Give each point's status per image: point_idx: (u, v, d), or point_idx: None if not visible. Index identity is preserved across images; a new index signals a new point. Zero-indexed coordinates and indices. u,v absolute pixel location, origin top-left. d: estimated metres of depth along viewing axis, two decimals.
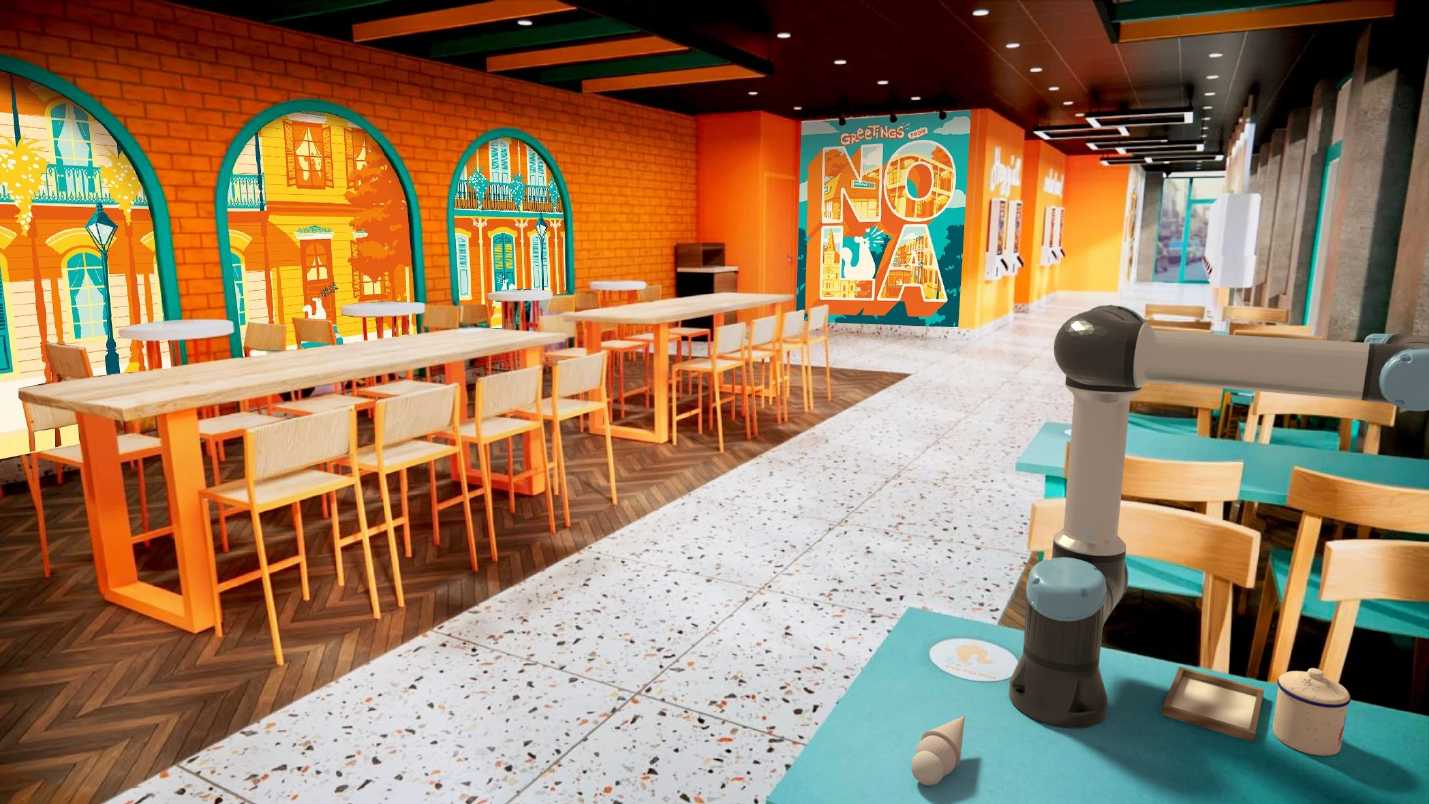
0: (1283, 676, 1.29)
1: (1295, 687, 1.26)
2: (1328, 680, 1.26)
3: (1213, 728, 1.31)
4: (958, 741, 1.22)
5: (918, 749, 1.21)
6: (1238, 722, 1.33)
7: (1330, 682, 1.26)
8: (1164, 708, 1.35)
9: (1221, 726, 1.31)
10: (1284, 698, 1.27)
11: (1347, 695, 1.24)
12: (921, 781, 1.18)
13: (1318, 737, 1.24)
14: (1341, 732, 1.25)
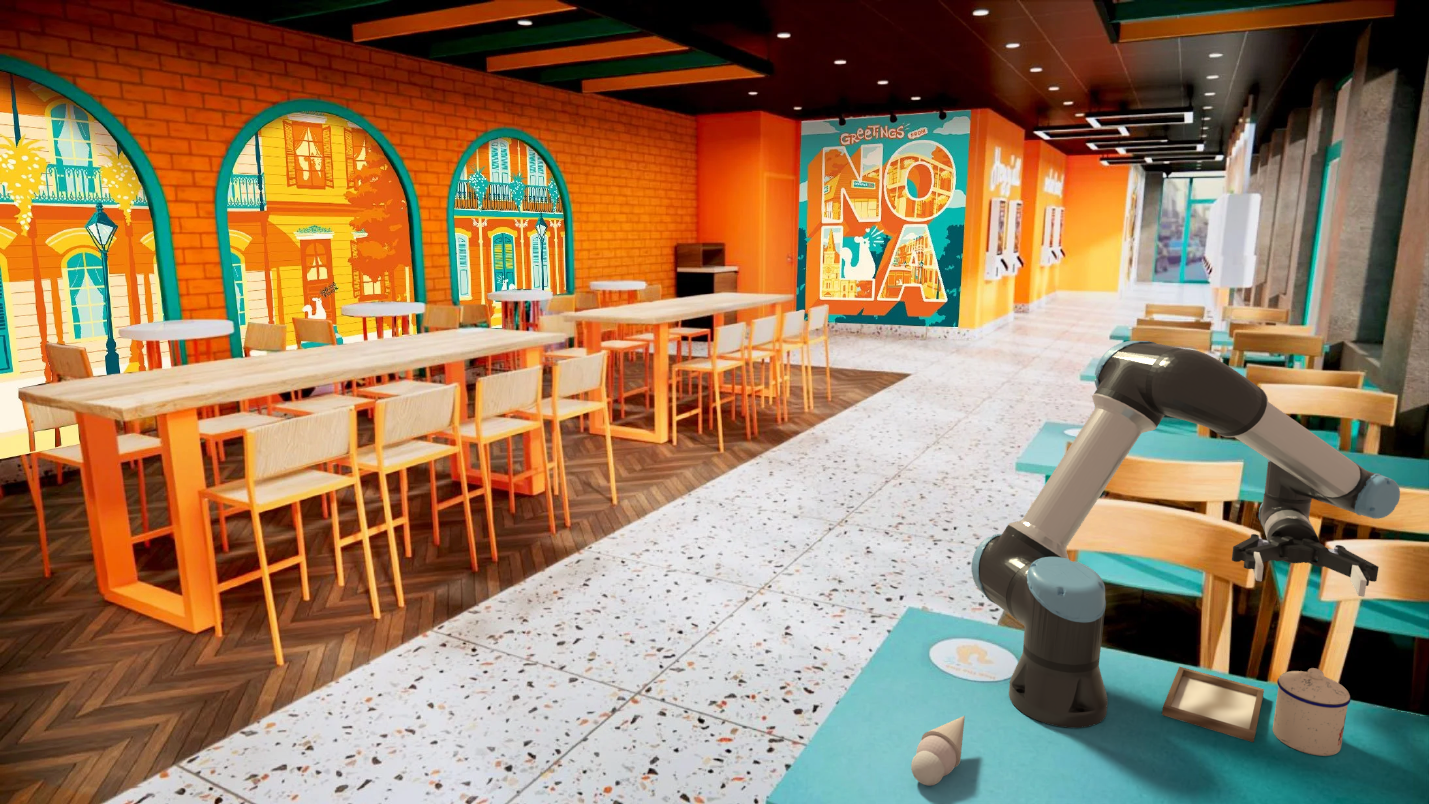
0: (1283, 676, 1.29)
1: (1295, 687, 1.26)
2: (1328, 680, 1.26)
3: (1213, 728, 1.31)
4: (958, 741, 1.22)
5: (918, 749, 1.21)
6: (1238, 722, 1.33)
7: (1330, 682, 1.26)
8: (1164, 708, 1.35)
9: (1221, 726, 1.31)
10: (1284, 698, 1.27)
11: (1347, 695, 1.24)
12: (921, 781, 1.18)
13: (1318, 737, 1.24)
14: (1341, 732, 1.25)
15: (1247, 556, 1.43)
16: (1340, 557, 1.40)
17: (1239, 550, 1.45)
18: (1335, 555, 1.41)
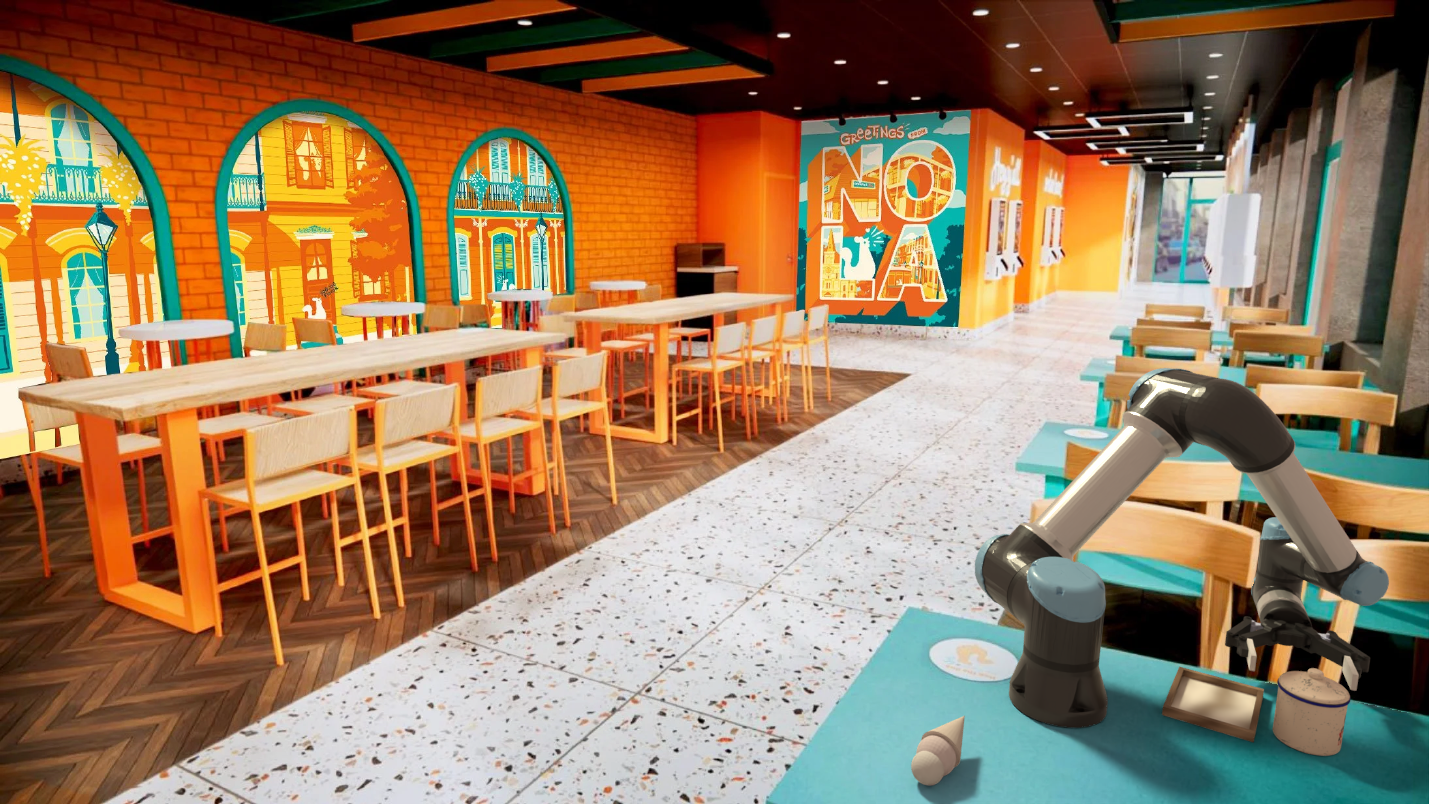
0: (1283, 676, 1.29)
1: (1295, 687, 1.26)
2: (1328, 680, 1.26)
3: (1213, 728, 1.31)
4: (958, 741, 1.22)
5: (918, 749, 1.21)
6: (1238, 722, 1.33)
7: (1330, 682, 1.26)
8: (1164, 708, 1.35)
9: (1221, 726, 1.31)
10: (1284, 698, 1.27)
11: (1347, 695, 1.24)
12: (921, 781, 1.18)
13: (1318, 737, 1.24)
14: (1341, 732, 1.25)
15: (1240, 643, 1.43)
16: (1332, 645, 1.41)
17: (1232, 636, 1.45)
18: (1327, 643, 1.42)
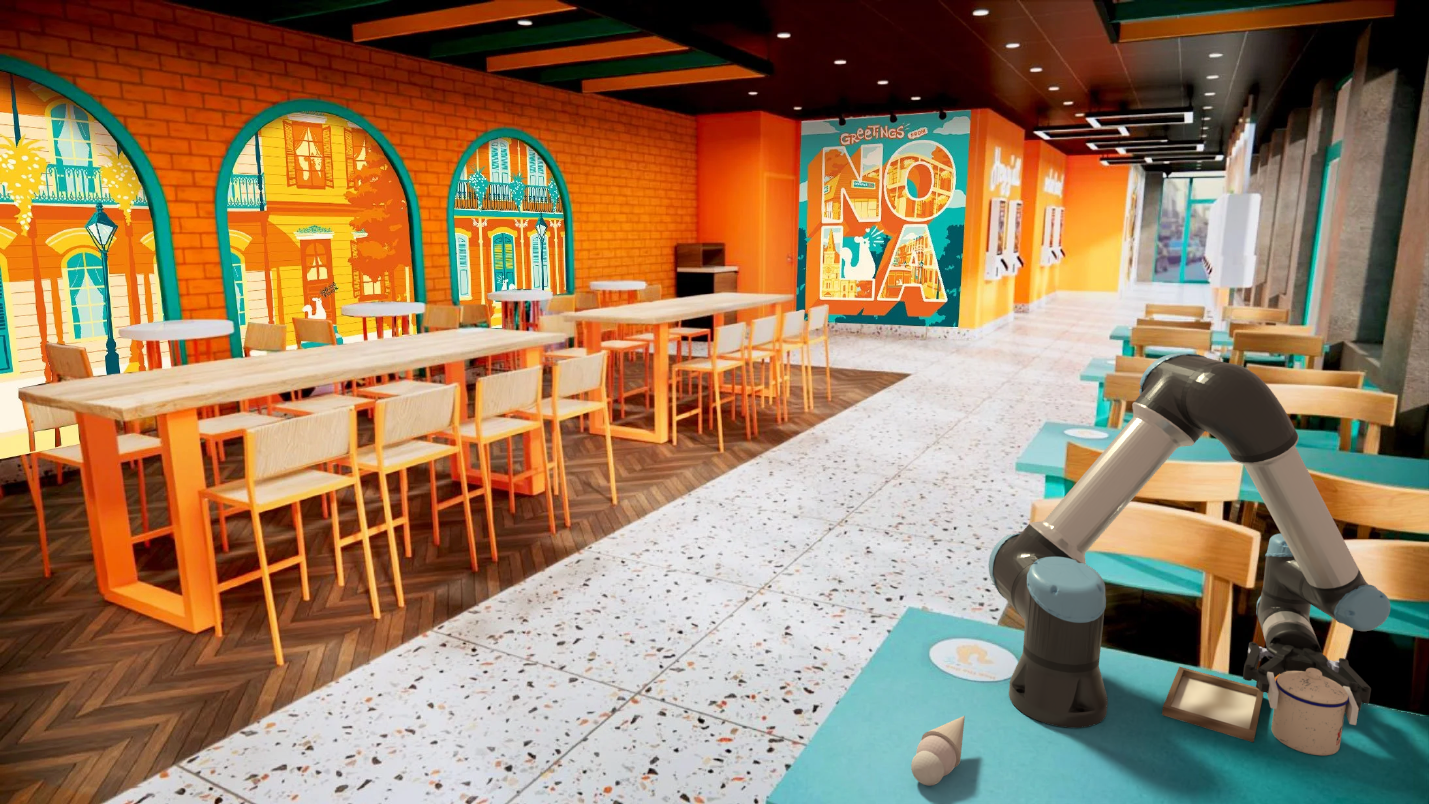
0: (1281, 676, 1.29)
1: (1293, 687, 1.26)
2: (1326, 680, 1.26)
3: (1213, 728, 1.31)
4: (958, 741, 1.22)
5: (918, 749, 1.21)
6: (1238, 722, 1.33)
7: (1328, 682, 1.26)
8: (1164, 708, 1.35)
9: (1221, 726, 1.31)
10: (1282, 697, 1.27)
11: (1345, 695, 1.24)
12: (921, 781, 1.18)
13: (1316, 736, 1.24)
14: (1339, 732, 1.25)
15: (1260, 677, 1.32)
16: (1335, 674, 1.32)
17: (1251, 668, 1.34)
18: (1331, 671, 1.33)
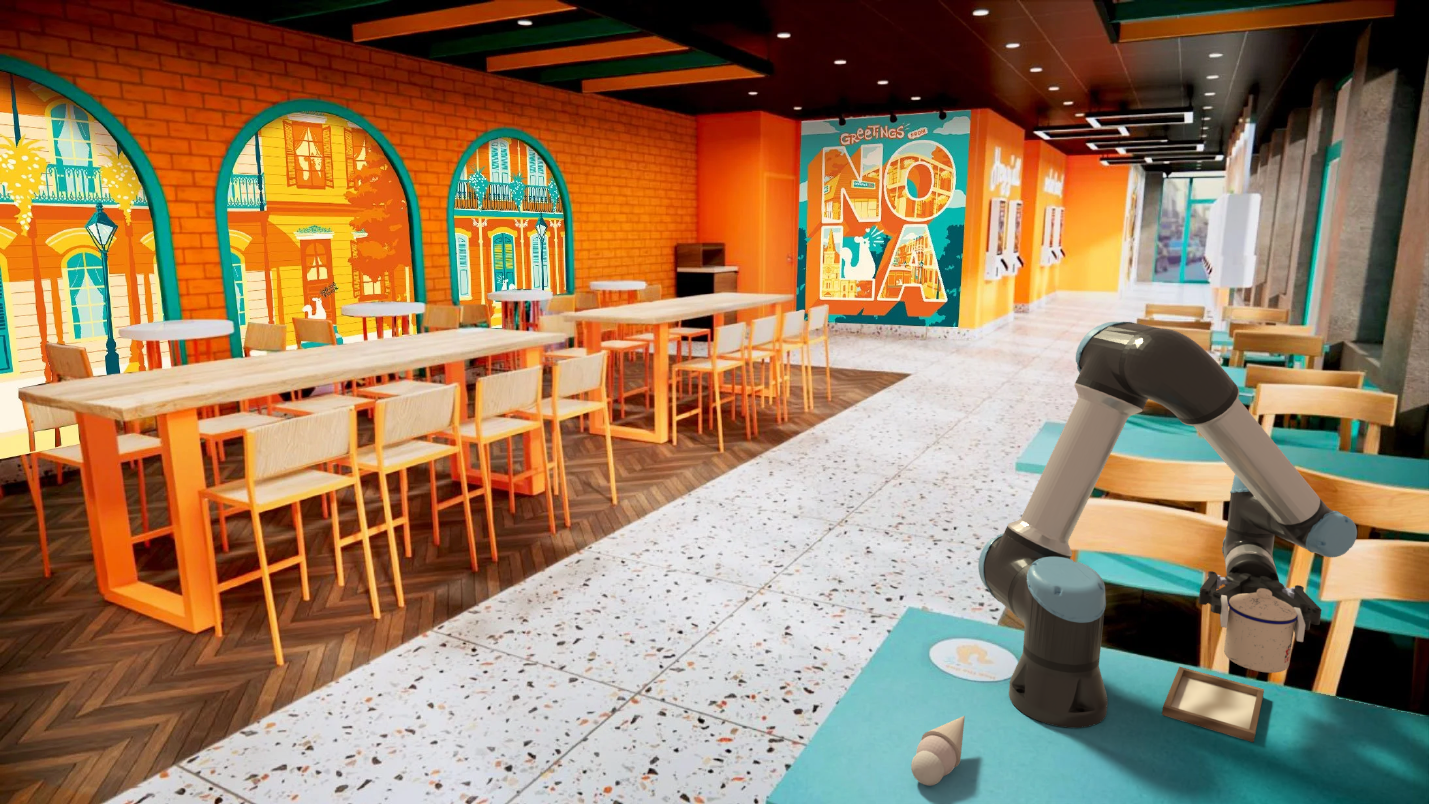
0: (1234, 597, 1.32)
1: (1243, 606, 1.29)
2: (1276, 599, 1.29)
3: (1213, 728, 1.31)
4: (958, 741, 1.22)
5: (918, 749, 1.21)
6: (1238, 722, 1.33)
7: (1278, 601, 1.28)
8: (1164, 708, 1.35)
9: (1221, 726, 1.31)
10: (1233, 617, 1.30)
11: (1294, 613, 1.27)
12: (921, 781, 1.18)
13: (1265, 653, 1.27)
14: (1288, 649, 1.27)
15: (1214, 599, 1.35)
16: (1288, 598, 1.34)
17: (1206, 592, 1.37)
18: (1284, 595, 1.35)
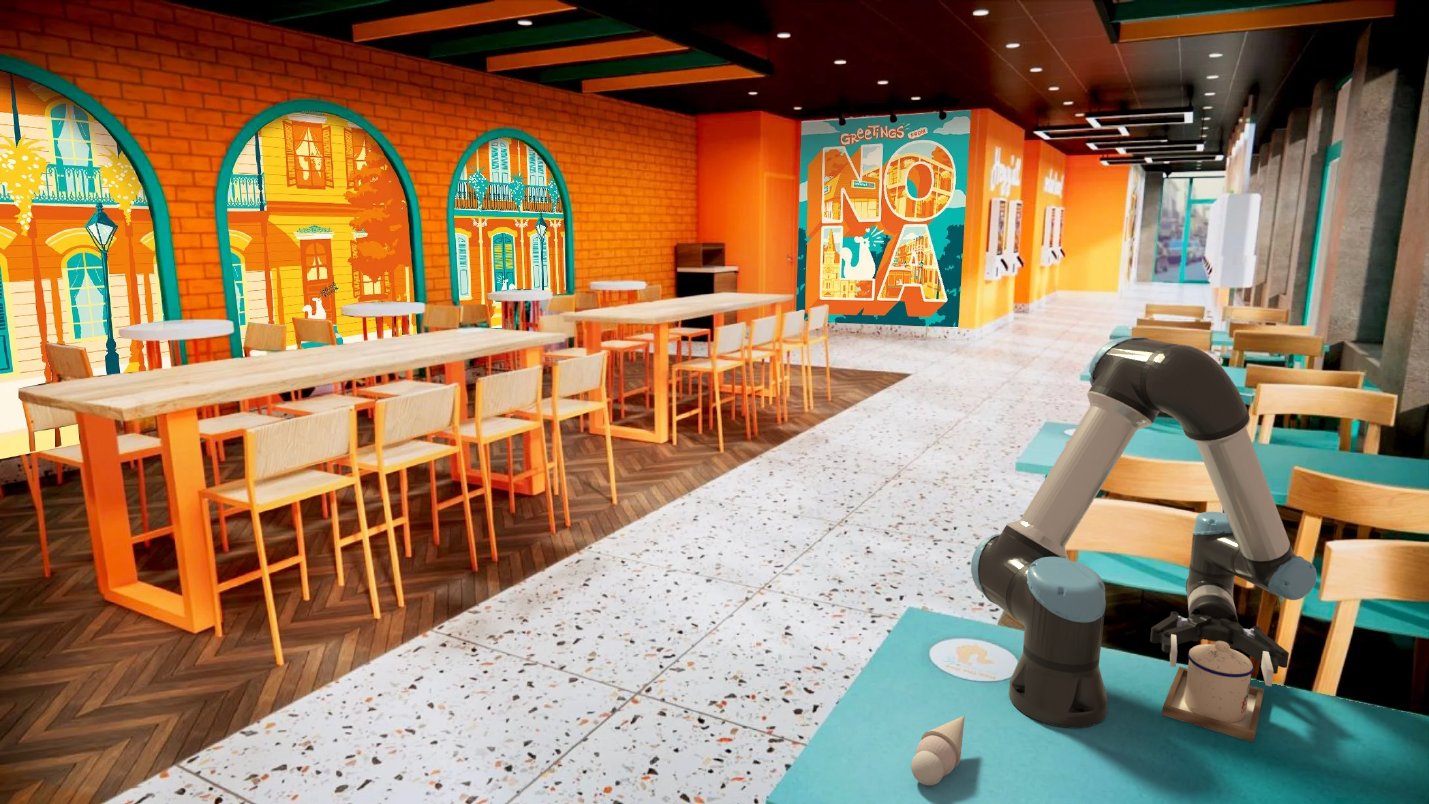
0: (1193, 649, 1.37)
1: (1202, 658, 1.34)
2: (1233, 652, 1.34)
3: (1213, 728, 1.31)
4: (958, 741, 1.22)
5: (918, 749, 1.21)
6: (1238, 722, 1.33)
7: (1235, 654, 1.33)
8: (1164, 708, 1.35)
9: (1221, 726, 1.31)
10: (1192, 668, 1.35)
11: (1250, 666, 1.32)
12: (921, 781, 1.18)
13: (1222, 705, 1.32)
14: (1244, 701, 1.32)
15: (1164, 639, 1.42)
16: (1253, 641, 1.40)
17: (1157, 631, 1.44)
18: (1249, 638, 1.40)
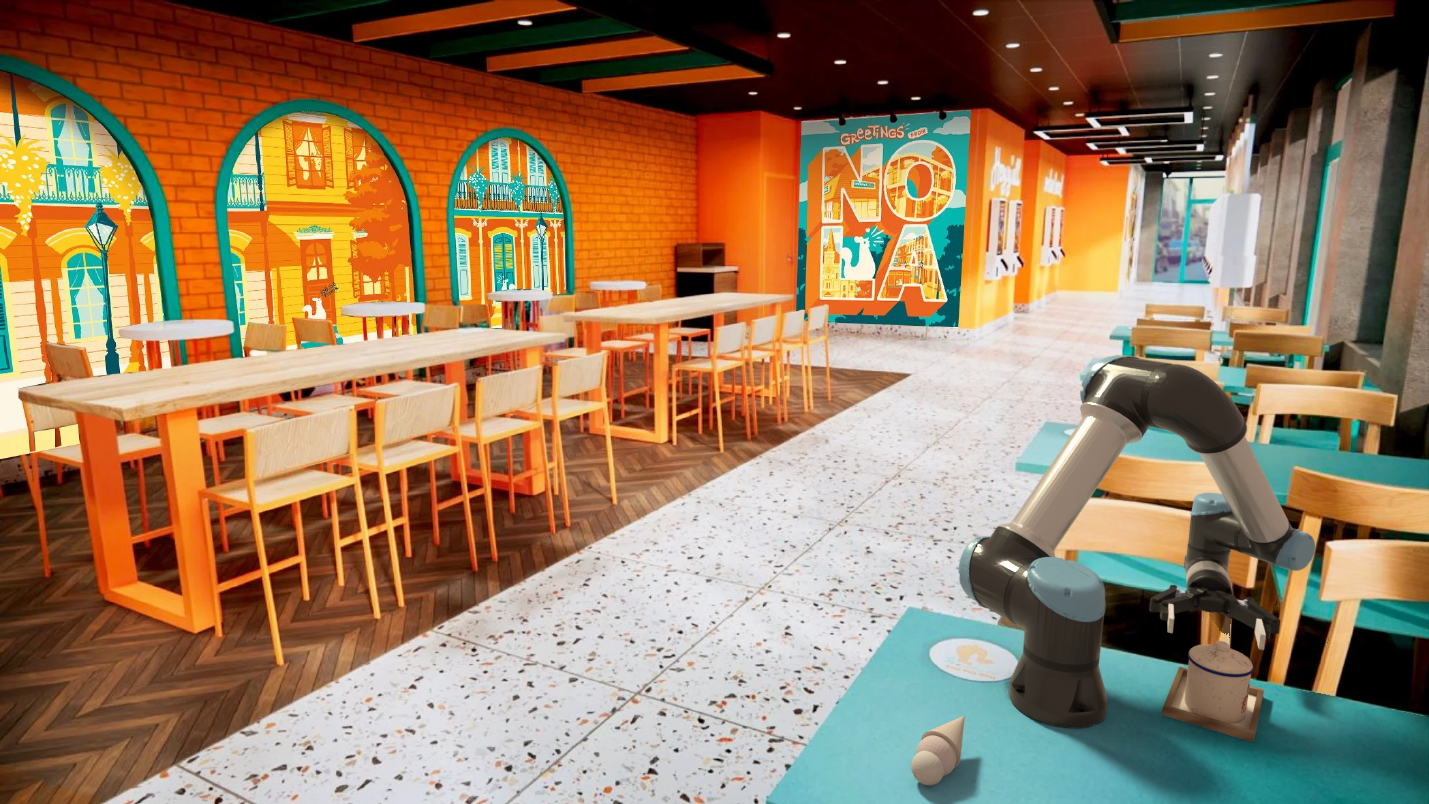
0: (1193, 649, 1.37)
1: (1202, 658, 1.34)
2: (1233, 652, 1.34)
3: (1213, 728, 1.31)
4: (958, 741, 1.22)
5: (918, 749, 1.21)
6: (1238, 722, 1.33)
7: (1235, 654, 1.33)
8: (1164, 708, 1.35)
9: (1221, 726, 1.31)
10: (1192, 668, 1.35)
11: (1250, 666, 1.32)
12: (921, 781, 1.18)
13: (1222, 705, 1.32)
14: (1244, 701, 1.32)
15: (1162, 608, 1.53)
16: (1247, 610, 1.51)
17: (1156, 601, 1.55)
18: (1243, 608, 1.51)
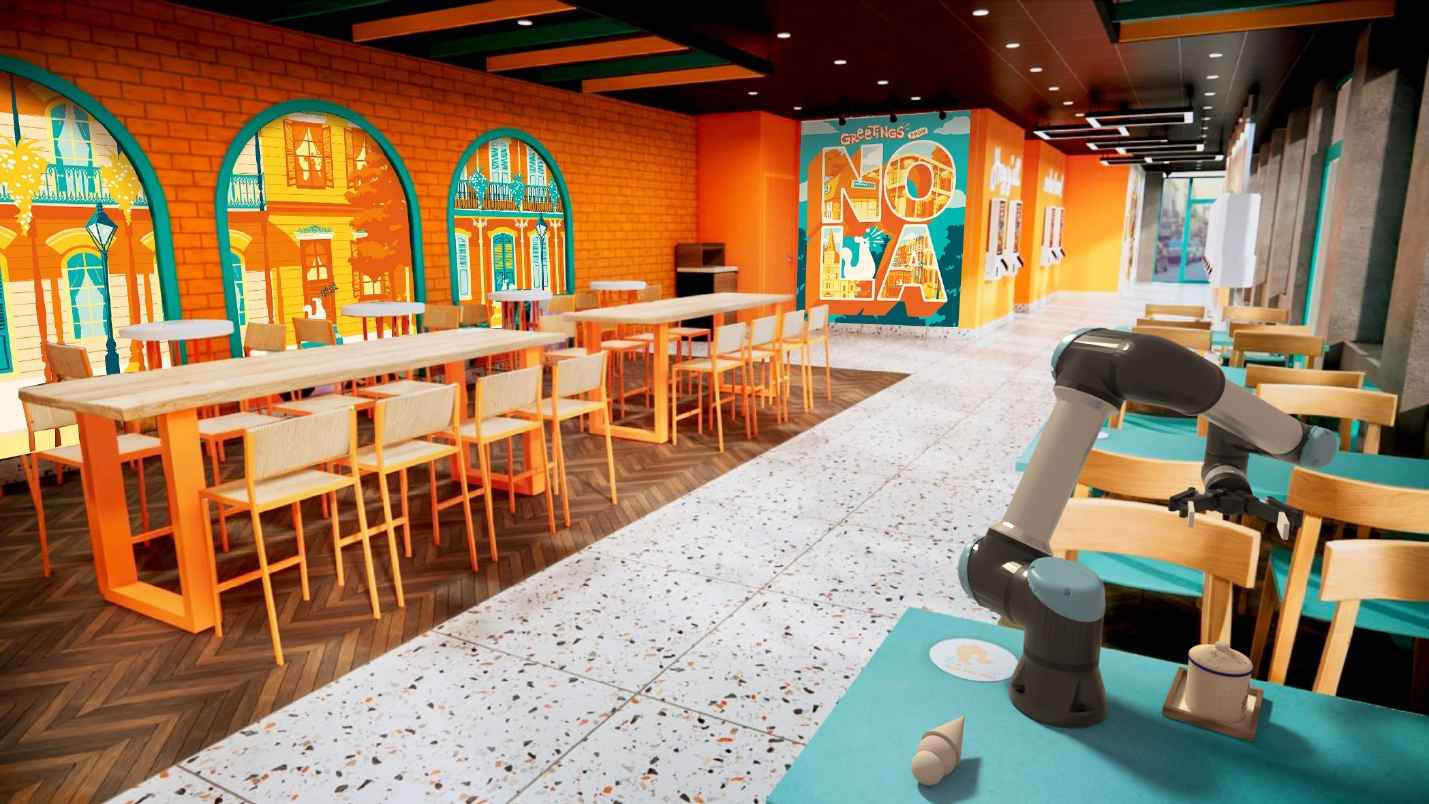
0: (1193, 649, 1.37)
1: (1202, 658, 1.34)
2: (1233, 652, 1.34)
3: (1213, 728, 1.31)
4: (958, 741, 1.22)
5: (918, 749, 1.21)
6: (1238, 722, 1.33)
7: (1235, 654, 1.33)
8: (1164, 708, 1.35)
9: (1221, 726, 1.31)
10: (1192, 668, 1.35)
11: (1250, 666, 1.32)
12: (921, 781, 1.18)
13: (1222, 705, 1.32)
14: (1244, 701, 1.32)
15: (1181, 505, 1.49)
16: (1269, 506, 1.47)
17: (1175, 500, 1.51)
18: (1265, 504, 1.48)
